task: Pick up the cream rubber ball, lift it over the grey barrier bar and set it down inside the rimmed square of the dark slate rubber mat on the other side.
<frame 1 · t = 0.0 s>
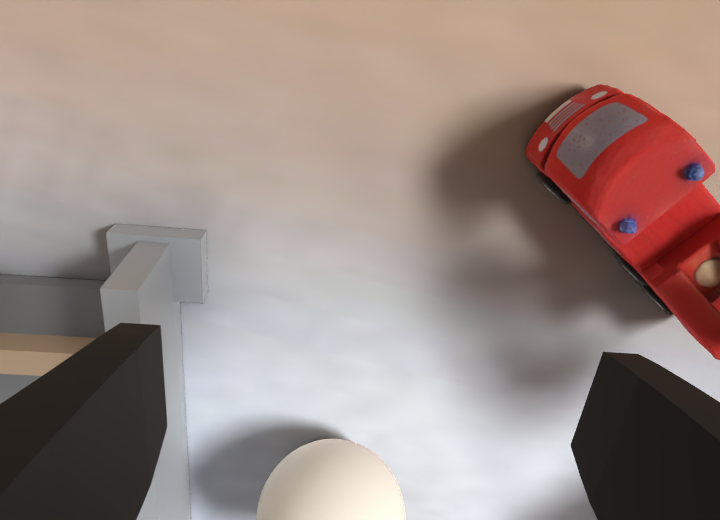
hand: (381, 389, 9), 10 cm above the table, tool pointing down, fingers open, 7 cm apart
toy fire truck: (660, 239, 20), on the table
grey barrier bar: (175, 453, 23), on the table
ball: (331, 516, 21), point 3 cm above the table
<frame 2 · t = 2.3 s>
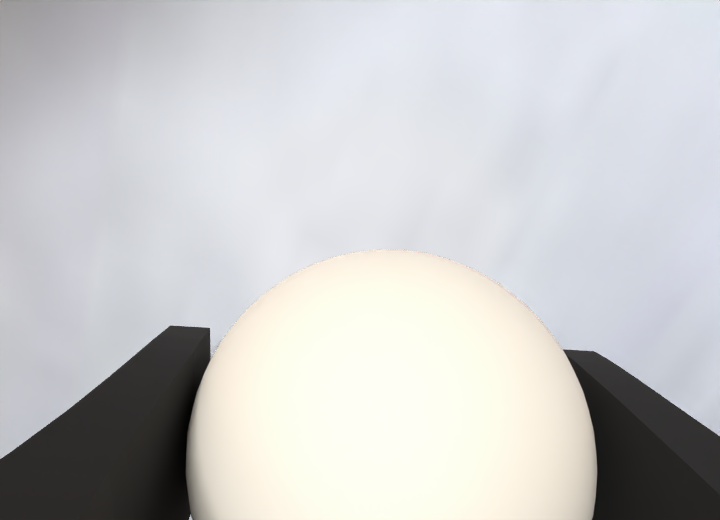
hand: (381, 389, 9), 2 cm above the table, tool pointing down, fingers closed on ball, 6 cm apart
ball: (387, 441, 8), point 3 cm above the table, touching gripper
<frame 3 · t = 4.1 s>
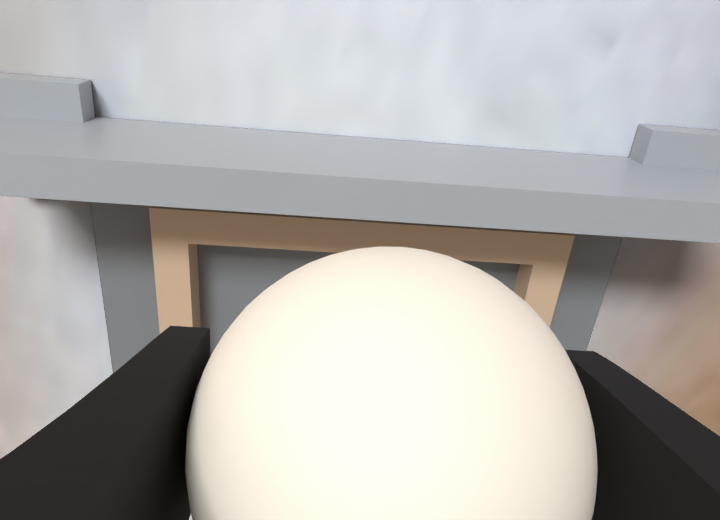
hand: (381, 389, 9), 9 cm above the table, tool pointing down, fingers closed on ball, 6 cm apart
grey barrier bar: (369, 154, 16), on the table
ball: (387, 439, 8), point 10 cm above the table, touching gripper
resting mat: (350, 362, 19), on the table
when the fingers open (3 cm above the table, at t = 6.1 s): ball stays where it is, resting on resting mat.
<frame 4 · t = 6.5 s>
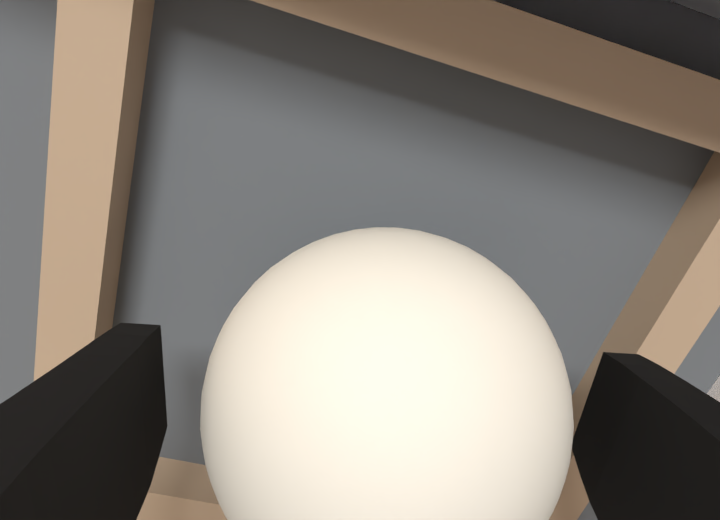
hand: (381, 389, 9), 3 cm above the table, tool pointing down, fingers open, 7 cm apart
ball: (384, 404, 9), point 3 cm above the table, touching resting mat
resting mat: (370, 298, 12), on the table
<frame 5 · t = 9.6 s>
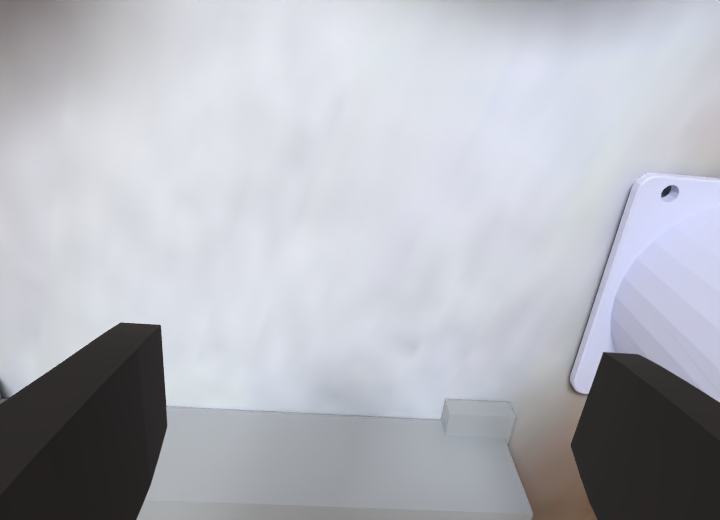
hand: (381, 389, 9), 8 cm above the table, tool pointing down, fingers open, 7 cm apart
grey barrier bar: (228, 420, 20), on the table
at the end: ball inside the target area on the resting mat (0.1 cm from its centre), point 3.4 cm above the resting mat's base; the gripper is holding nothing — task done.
